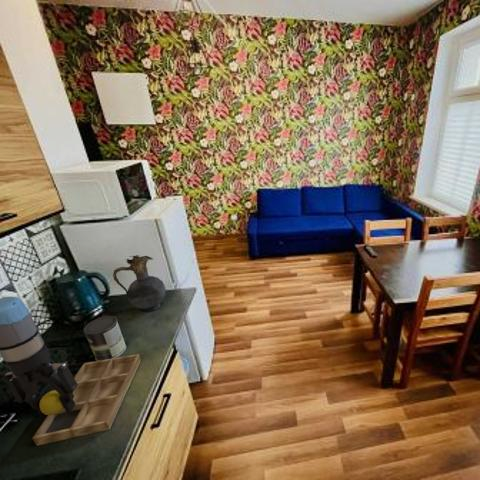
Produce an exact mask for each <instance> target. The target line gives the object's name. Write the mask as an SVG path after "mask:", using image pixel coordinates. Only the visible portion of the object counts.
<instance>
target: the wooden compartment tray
mask: <svg viewBox="0 0 480 480" xmlns="http://www.w3.org/2000/svg"><path fill="white" fill-rule="evenodd" d="M140 363H141V357H140V353H136V354H130V355H126V356H125V355H124V356H118V357H117V358H113V359H107V360H101V361H97V360H95V361H89V362H83V364H82V366H81V367H80V368H79V370H78V371H77V373H75V375H74V376H73V377H74V379H75V380H76V382H77V384H78V385H77V387H76V388H75V390H74V391H73V392H72V393H73V395H74V398H73V400H74V402H75V406H74V407H73V409H72V410H71V412H70V413H67V412H66V410H65V408H64V409H63V410H62V411H60V412H59V413H57V414H55V415H46V417H45V418H44V421H43V422H42V423H41V425H40V426H39V428H38V429H37V431H36V432H35V434H34V436H32V439H31V440H32V441H33V442H34V444H35V445H36V446H37V447H38V446H42V445H47V444H51V443H56V442H60V441H64V440H69V439H74V438H78V437H82V436H87V435H91V434H97V433H100V432H104V431H108V430H111V427H112V426H113V423H114V420H115V419H116V417H117V414H118V412H119V410H120V408H121V405H122V403H123V402H124V399H125V397H126V394H127V392H128V390H129V387H130V385H131V384H132V381H133V379H134V377H135V375H136V372H137V370H138V368H139V366H140Z"/></svg>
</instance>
